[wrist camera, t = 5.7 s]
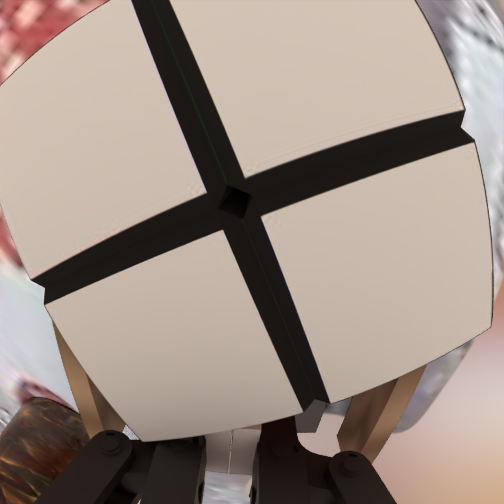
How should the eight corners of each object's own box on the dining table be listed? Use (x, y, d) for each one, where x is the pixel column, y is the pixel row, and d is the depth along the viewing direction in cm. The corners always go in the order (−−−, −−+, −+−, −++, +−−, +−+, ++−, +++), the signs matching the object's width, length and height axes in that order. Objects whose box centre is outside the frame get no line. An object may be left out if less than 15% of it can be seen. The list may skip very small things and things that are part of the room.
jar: (6, 388, 20) (-66, 481, 5) (87, 403, 19) (11, 546, 5) (59, 461, 23) (17, 548, 9) (141, 479, 22) (108, 593, 8)
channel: (354, 434, 19) (365, 472, 16) (112, 412, 19) (94, 447, 15) (434, 163, 14) (479, 167, 10) (85, 129, 13) (41, 124, 10)
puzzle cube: (373, 235, 15) (499, 331, 5) (197, 300, 16) (140, 450, 7) (306, 53, 12) (370, -75, 3) (122, 129, 14) (-31, 109, 4)
